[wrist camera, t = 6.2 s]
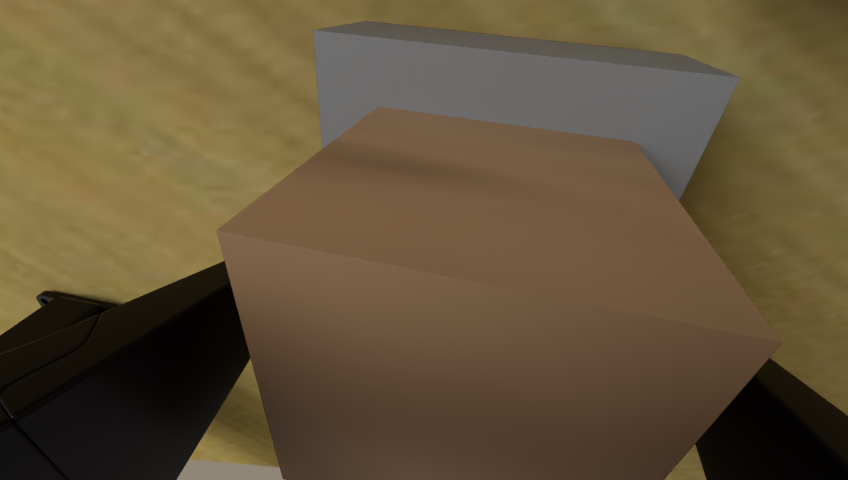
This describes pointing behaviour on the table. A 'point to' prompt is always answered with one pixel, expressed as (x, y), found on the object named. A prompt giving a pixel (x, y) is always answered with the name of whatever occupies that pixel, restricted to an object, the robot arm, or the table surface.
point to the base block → (524, 87)
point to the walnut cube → (485, 307)
